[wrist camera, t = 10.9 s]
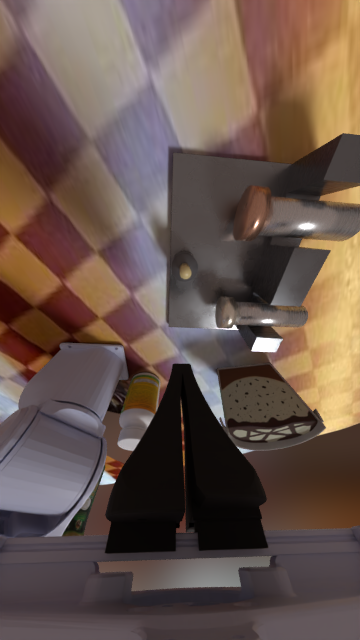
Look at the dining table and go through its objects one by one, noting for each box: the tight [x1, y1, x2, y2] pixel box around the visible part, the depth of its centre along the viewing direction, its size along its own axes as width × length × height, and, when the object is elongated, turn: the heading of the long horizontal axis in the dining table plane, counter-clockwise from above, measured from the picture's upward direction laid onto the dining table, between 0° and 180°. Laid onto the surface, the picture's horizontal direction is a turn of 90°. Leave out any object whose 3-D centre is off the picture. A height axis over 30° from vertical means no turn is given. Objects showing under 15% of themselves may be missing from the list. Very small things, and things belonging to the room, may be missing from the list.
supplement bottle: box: [118, 373, 160, 451], centre depth 23 cm, size 5×5×10 cm
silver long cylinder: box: [215, 296, 308, 329], centre depth 17 cm, size 9×4×4 cm, turn 86°
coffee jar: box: [62, 465, 105, 536], centre depth 42 cm, size 10×8×19 cm
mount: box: [169, 133, 360, 352], centre depth 15 cm, size 13×17×5 cm
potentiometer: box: [171, 251, 198, 282], centre depth 14 cm, size 3×3×4 cm
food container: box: [217, 363, 326, 450], centre depth 23 cm, size 12×6×10 cm, turn 98°
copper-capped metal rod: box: [233, 185, 360, 241], centre depth 12 cm, size 9×4×4 cm, turn 86°
